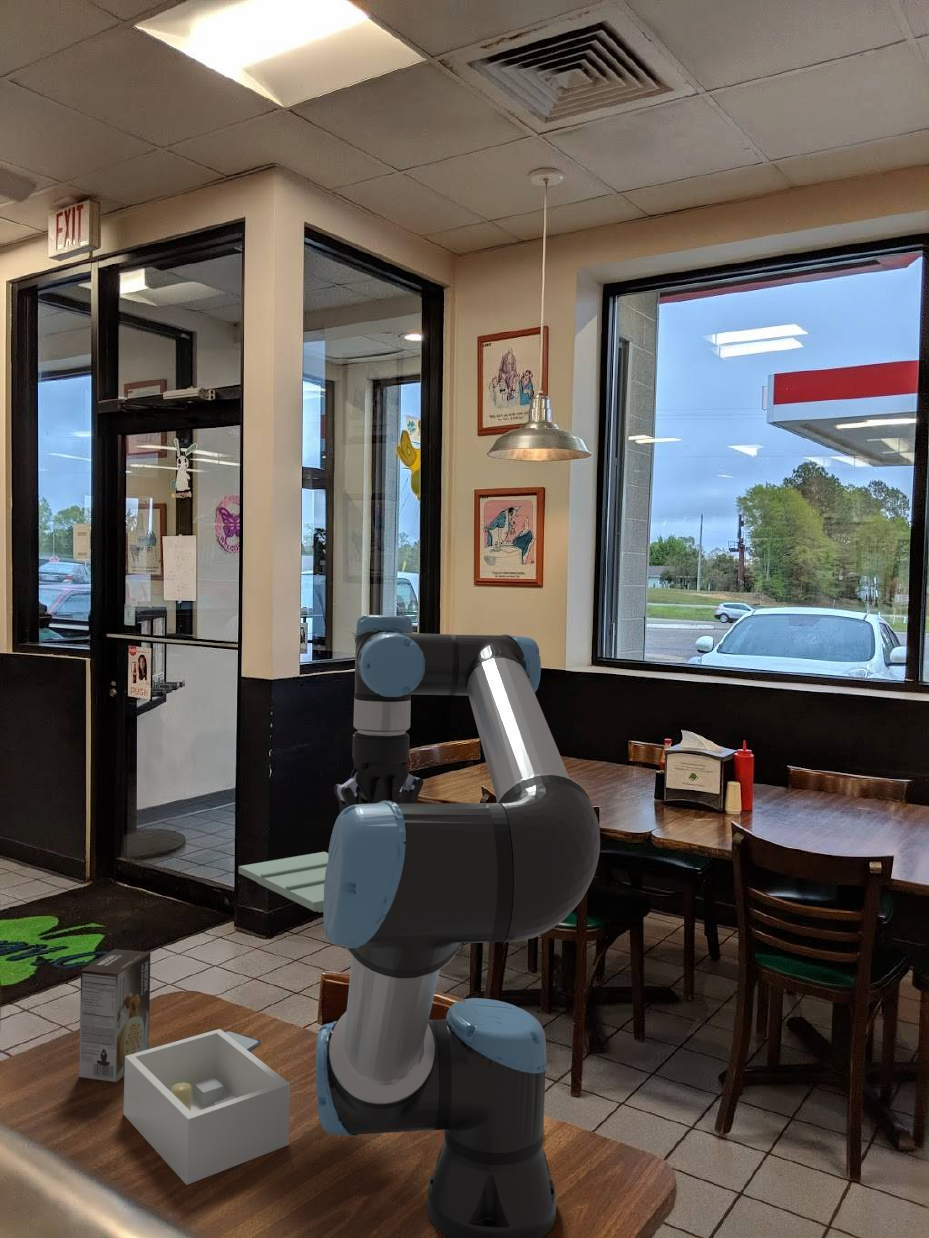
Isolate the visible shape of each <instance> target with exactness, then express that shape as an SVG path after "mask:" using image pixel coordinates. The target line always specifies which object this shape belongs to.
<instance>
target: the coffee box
mask: <svg viewBox="0 0 929 1238" xmlns="http://www.w3.org/2000/svg"><path fill="white" fill-rule="evenodd" d="M151 954H152V952H150V951H139V950H138V951H137V950H130V949H120V948H119V949H118V948H114V949H112V950H110V951H109V952H108V953H106V954H105V955H103V956H101V957H100V958H97V959H96V960H95V961H93V962H91V963H89V965H87V966H85V967H83V968H82V969H81V970H80V1001H79V1002H80V1005H79V1006H80V1007H79V1008H80V1009H79V1058H78V1059H79V1061H78V1062H79V1063H78V1065H79V1067H78V1070H79V1071H78V1072H79V1073H78V1076H79V1077H80V1078H84V1079H89V1080H99V1081H106V1082H112V1083H113V1082H114V1083H117V1082H119V1081H120V1080H121V1079H122V1078H123V1077H124V1076H125V1056H127V1055H131V1054H134V1053H137V1052H141V1051H144V1050H148V1049H150V1010H151V1009H150V1005H151V1003H150V1001H151V999H150V998H151Z"/></svg>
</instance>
